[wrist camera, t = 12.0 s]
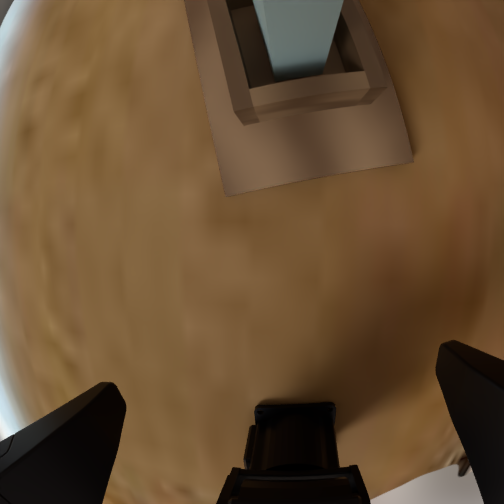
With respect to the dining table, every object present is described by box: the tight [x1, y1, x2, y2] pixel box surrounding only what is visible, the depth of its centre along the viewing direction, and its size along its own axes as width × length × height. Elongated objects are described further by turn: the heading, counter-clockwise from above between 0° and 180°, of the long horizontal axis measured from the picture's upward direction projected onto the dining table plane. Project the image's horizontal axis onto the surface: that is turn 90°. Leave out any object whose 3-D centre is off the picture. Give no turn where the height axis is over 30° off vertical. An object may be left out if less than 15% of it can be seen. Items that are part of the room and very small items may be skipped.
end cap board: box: [184, 0, 414, 197], centre depth 14 cm, size 12×18×4 cm, turn 13°
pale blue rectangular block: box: [253, 0, 344, 82], centre depth 11 cm, size 3×5×10 cm, turn 12°
